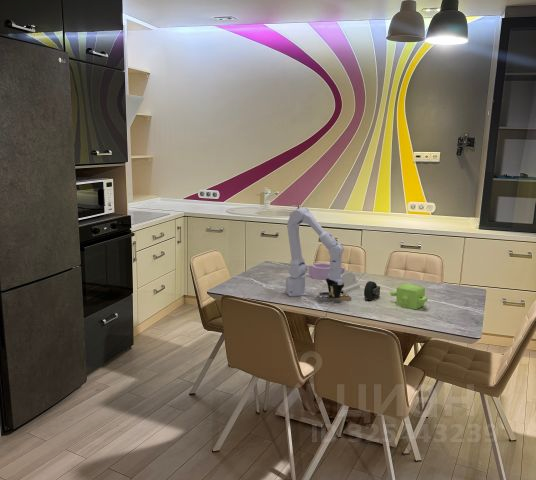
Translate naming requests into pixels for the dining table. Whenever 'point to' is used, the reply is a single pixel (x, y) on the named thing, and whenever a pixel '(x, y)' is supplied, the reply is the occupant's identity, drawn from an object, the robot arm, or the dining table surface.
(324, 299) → the chain end left
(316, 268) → the purple oblong basket
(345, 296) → the chain end right
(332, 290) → the pin
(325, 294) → the gray square frame
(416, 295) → the gearbox
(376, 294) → the caster wheel
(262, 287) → the dining table surface
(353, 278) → the off-white striped device
